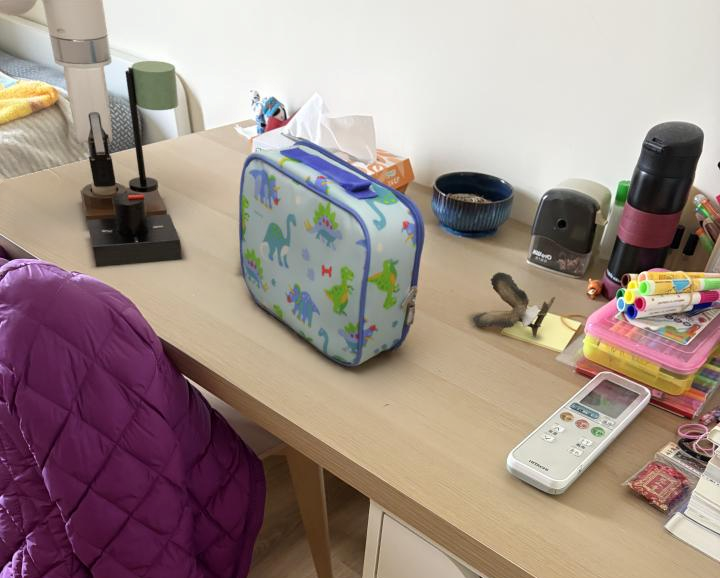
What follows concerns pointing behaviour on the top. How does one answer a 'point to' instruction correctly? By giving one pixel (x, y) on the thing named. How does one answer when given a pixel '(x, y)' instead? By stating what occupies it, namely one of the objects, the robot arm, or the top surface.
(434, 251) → the top surface
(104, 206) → the lamp base
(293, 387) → the top surface
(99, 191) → the lamp button
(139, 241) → the dimmer plate
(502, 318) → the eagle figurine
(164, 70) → the desk lamp
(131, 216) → the dimmer knob
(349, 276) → the lunch box
